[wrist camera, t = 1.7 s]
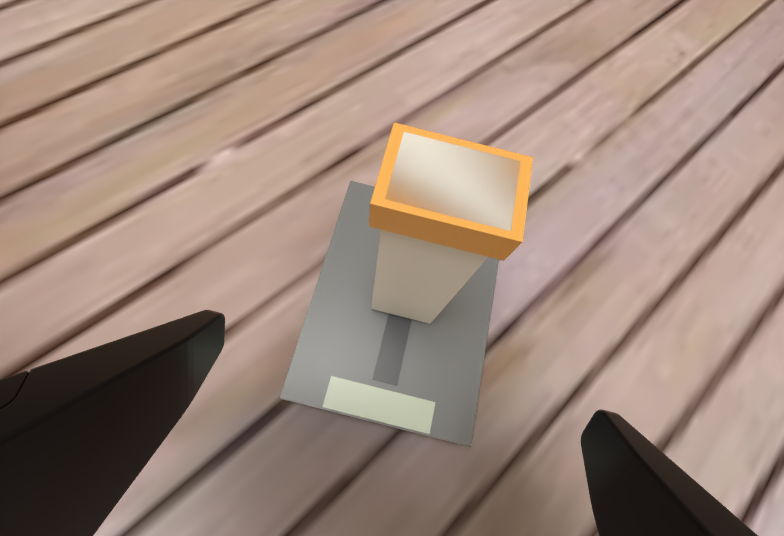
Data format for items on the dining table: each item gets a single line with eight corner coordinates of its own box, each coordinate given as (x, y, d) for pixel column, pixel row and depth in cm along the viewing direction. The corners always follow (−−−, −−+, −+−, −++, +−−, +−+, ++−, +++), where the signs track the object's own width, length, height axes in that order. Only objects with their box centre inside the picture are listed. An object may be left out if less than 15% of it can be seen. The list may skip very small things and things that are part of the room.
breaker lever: (435, 329, 19) (522, 241, 9) (364, 311, 19) (370, 203, 9) (444, 284, 19) (532, 157, 10) (376, 266, 20) (393, 122, 10)
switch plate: (459, 443, 19) (472, 447, 17) (287, 399, 19) (278, 398, 17) (492, 234, 23) (505, 217, 21) (351, 198, 23) (350, 178, 21)
